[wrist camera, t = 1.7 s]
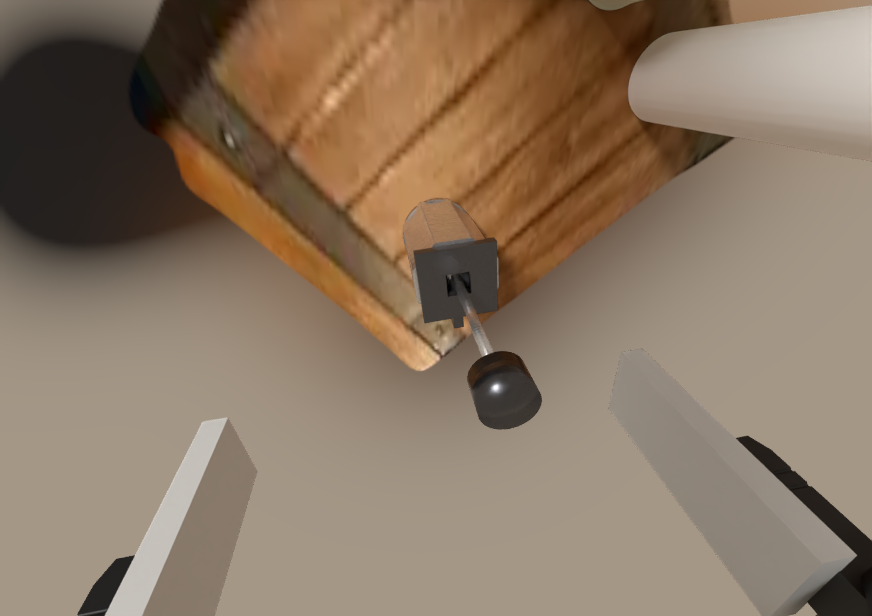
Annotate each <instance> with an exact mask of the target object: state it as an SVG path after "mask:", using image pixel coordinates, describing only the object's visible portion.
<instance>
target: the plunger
mask: <svg viewBox="0 0 872 616" xmlns="http://www.w3.org/2000/svg"><path fill="white" fill-rule="evenodd" d="M446 284H447V292H450V291H457V294H458V297H459V299H460V302H461V304H462V307H463V309H464V312H465V314H466V317H467V320H468V322H469V325H470V327H471V330H472V332H473V335H474V337H475V340H476V342H477V345H478V347H479V350H480V352H481V355H482V358H480V359H479V360H477V361H476V362H475V363H474V364H473V365H472V367H471V368H470V370H469V372H468V376H467V381H468V385H469V388H470V391H471V395H472V398H473V401H474V404H475V407H476V410H477V413H478V417H479V419H480V421H481V422H482V423H483V424H484V425H486V426H487V427H490V428H493V429H510V428H514V427H517V426H519V425H522V424H524V423H525V422H527V421H529V420H530V419H531V418H532V417H534V416H535V414H536V413H537V412H538V410H539V408H540V406H541V402H542V398H541V394H540V392H539V390H538V388H537V386H536V385H535V383H534V381H533V379H532V377H531V375H530V373H529V371H528V369H527V368H526V366H525V364H524V362H523V360H522V359H521V358H520V357H519V356H518V355H516V354H514V353H512V352H507V351H499V352H493V349H492V347H491V345H490V342H489V340H488V338H487V336H486V333H485V331H484V329H483V326H482V324H481V322H480V320H479V317H478V315H477V313H476V310H475V308H474V306H473V304H472V301H471V299H470V297H469V295H468V292H467V290H466V289H468V288H469V275H468V272H464V273H458V274H452V275H446Z"/></svg>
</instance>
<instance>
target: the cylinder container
mask: <svg viewBox="0 0 872 616" xmlns="http://www.w3.org/2000/svg"><path fill="white" fill-rule="evenodd" d="M628 99H629V104H630V107H631V109H632V111H633V113H634V114H635V115H636V116H637V117H638V118H640V119H641V120H643V121H646V122H652V123H657V124H663V125H668V126H674V127H680V128H685V129H691V130H697V131H702V132H708V133H714V134H719V135H725V136H731V137H736V138H742V139H748V140H753V141H759V142H765V143H771V144H776V145H782V146H787V147H793V148H798V149H805V150H810V151H815V152H821V153H827V154H833V155H839V156H844V157H849V158H855V159H861V160H866V161H872V5H871V6H864V7H856V8H849V9H842V10H834V11H826V12H819V13H811V14H804V15H797V16H789V17H782V18H774V19H767V20H759V21H753V22H745V23H737V24H730V25H722V26H715V27H707V28H700V29H693V30H685V31H678V32H671V33H668V34H665V35H663V36H661V37H659V38H658V39H656V40H655V41H654V42H652V43H651V44H650V45H649V46H648V47H647V48H646V49H645V51H644V52H643V53H642V54H641V56H640V57H639V59H638V60H637V62H636V64H635V66H634V68H633V71H632V73H631V77H630V80H629V86H628Z"/></svg>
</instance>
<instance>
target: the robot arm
mask: <svg viewBox="0 0 872 616" xmlns="http://www.w3.org/2000/svg"><path fill="white" fill-rule="evenodd" d="M608 409H609V410H610V411H611V413H612V414H613V415H614V417H615V418H616V419H617V421H618V422H619V423H620V425H621V426H622V427H623V429H624V430H625V432H626V433H627V434H628V436H629V437H630V438H631V440H632V441H633V442H634V444H635V445H636V447H637V448H638V449H639V450H640V452H641V453H642V454H643V456H644V457H645V459H646V460H647V461H648V463H649V464H650V465H651V467H652V468H653V470H654V471H655V472H656V473H657V475H658V476H659V478H660V479H661V480H662V482H663V483H664V484H665V486H666V487H667V488H668V490H669V491H670V492H671V494H672V495H673V496H674V498H675V499H676V501H677V502H678V503H679V505H680V506H681V507H682V509H683V510H684V511H685V512H686V514H687V515H688V517H689V518H690V520H691V521H692V522H693V523H694V525H695V526H696V528H697V529H698V530H699V532H700V533H701V534H702V536H703V537H704V538H705V540H706V541H707V542H708V544H709V545H710V547H711V548H712V549H713V551H714V552H715V553H716V555H717V556H718V557H719V559H720V560H721V561H722V563H723V564H724V566H725V567H726V568H727V569H728V571H729V572H730V574H731V575H732V576H733V578H734V579H735V580H736V582H737V583H738V584H739V586H740V587H741V589H742V590H743V591H744V593H745V594H746V595H747V597H748V598H749V599H750V601H751V602H752V603H753V605H754V606H755V607H756V609H757V610H758V611H759V613H760V614H761V615H762V616H788V615H793V614H796V613H797V612H798V611H799V610H800V609H801V608H802V607H803V606H804V605H805V604H806V603H807V602H808V603H809V605H810V606H811V607H812V608H813V609H814V610H815V612H816V613H817V615H816V616H872V541H871V540H870V539H869V538H868V537H867V536H866V535H865V534H863V533H862V532H861V531H860V530H859V529H858V528H857V527H856V526H855V525H854V524H853V523H851V522H850V521H849V520H848V519H847V518H846V517H845V516H844V515H843V514H842V513H840V512H839V511H838V510H837V509H836V508H835V507H834V506H833V505H832V504H830V503H829V502H828V501H827V500H826V499H825V498H824V497H823V496H822V495H821V494H819V493H818V492H817V491H816V490H815V489H814V488H813V487H810V486H808V484H807V482H806V481H805V480H804V479H803V478H802V477H801V476H799V475H798V474H797V473H796V472H795V471H792V470H791V468H790V466H788V465H787V464H786V463H785V462H784V461H783V460H782V459H781V458H780V457H778V456H777V455H776V454H775V453H774V452H773V451H772V450H771V449H769V448H767V447H765V446H764V445H762V444H760V443H759V442H757V441H755V440H754V439H752V438H750V437H749V436H744V437H739V438H735V437H734V436H733V435H732V434H731V433H730V432H729V431H727V430H726V429H725V428H724V427H723V426H722V425H721V424H720V423H719V422H718V421H717V420H716V419H715V418H714V417H713V416H712V415H711V414H710V413H709V412H708V411H707V410H706V409H705V408H704V407H703V406H701V405H700V404H699V403H698V402H697V401H696V400H695V399H694V398H693V397H692V396H691V395H690V394H689V393H688V392H687V391H686V390H685V389H684V388H683V387H682V386H681V385H680V384H679V383H678V382H677V381H676V380H674V379H673V378H672V377H671V376H670V375H669V374H668V373H667V372H666V371H665V370H664V369H663V368H662V367H661V366H660V365H659V364H658V363H657V362H656V361H655V360H654V359H653V358H652V357H650V356H649V354H647V353H646V352H645V351H644V350H643V349H636V350H630V351H624V352H622V353H621V356H620V360H619V365H618V369H617V373H616V377H615V382H614V386H613V390H612V394H611V399H610V403H609V407H608ZM256 474H257V470H256V468H255V466H254V464H253V462H252V460H251V459H250V457H249V455H248V453H247V451H246V449H245V448H244V446H243V444H242V442H241V440H240V439H239V437H238V435H237V433H236V431H235V429H234V427H233V426H232V424H231V422H230V420H229V418H221V419H215V420H209V421H203V422H202V424H201V426H200V428H199V430H198V432H197V434H196V436H195V438H194V440H193V442H192V444H191V446H190V448H189V450H188V452H187V454H186V456H185V458H184V460H183V462H182V464H181V466H180V468H179V470H178V471H177V473H176V475H175V478H174V479H173V481H172V484H171V485H170V487H169V489H168V492H167V493H166V496H165V497H164V499H163V501H162V503H161V505H160V507H159V509H158V511H157V513H156V515H155V517H154V519H153V521H152V523H151V525H150V527H149V529H148V531H147V533H146V535H145V537H144V539H143V541H142V543H141V545H140V547H139V549H138V551H137V553H136V555H134V556H129V557H124V558H119V559H116V560H115V561H114V562H113V563H112V564H111V566H110V567H109V568H108V569H107V570H106V571H105V572H104V574H103V575H102V576H101V577H100V578H99V579H98V581H97V582H96V583H95V584H94V585H93V587H92V589H91V591H90V592H89V594H88V596H87V598H86V600H85V601H84V603H83V605H82V607H81V609H80V611H79V612H78V616H215V613H216V610H217V606H218V603H219V599H220V596H221V593H222V589H223V586H224V583H225V579H226V576H227V572H228V569H229V566H230V562H231V559H232V555H233V552H234V549H235V545H236V542H237V538H238V535H239V532H240V528H241V525H242V522H243V518H244V515H245V511H246V508H247V505H248V501H249V498H250V495H251V491H252V488H253V485H254V481H255V478H256Z"/></svg>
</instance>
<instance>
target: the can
mask: <svg viewBox="0 0 872 616" xmlns="http://www.w3.org/2000/svg"><path fill="white" fill-rule="evenodd" d="M589 1H590V2H591V3H592V4H593V5H594V6H596V7H598V8H600V9H603V10H616V9H620V8H623V7H625V6H627V5H629V4H631V3H635V2H638V1H642V0H589Z"/></svg>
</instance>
